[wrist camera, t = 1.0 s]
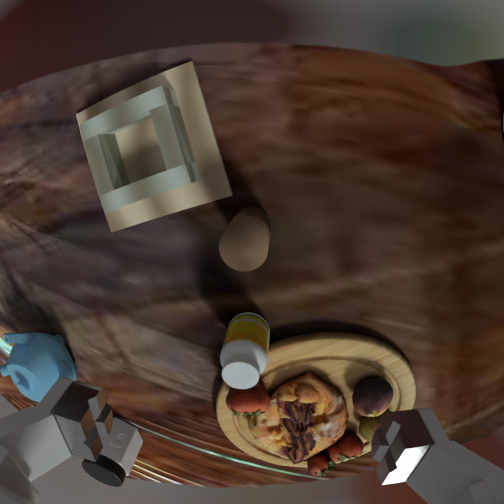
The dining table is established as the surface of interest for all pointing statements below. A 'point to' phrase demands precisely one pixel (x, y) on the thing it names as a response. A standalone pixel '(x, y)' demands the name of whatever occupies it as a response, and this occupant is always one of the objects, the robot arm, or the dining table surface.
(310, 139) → the dining table surface
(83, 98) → the dining table surface
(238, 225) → the peg
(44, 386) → the teapot
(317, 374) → the wooden plate with food
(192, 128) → the socket board
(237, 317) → the supplement bottle
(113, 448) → the jar
